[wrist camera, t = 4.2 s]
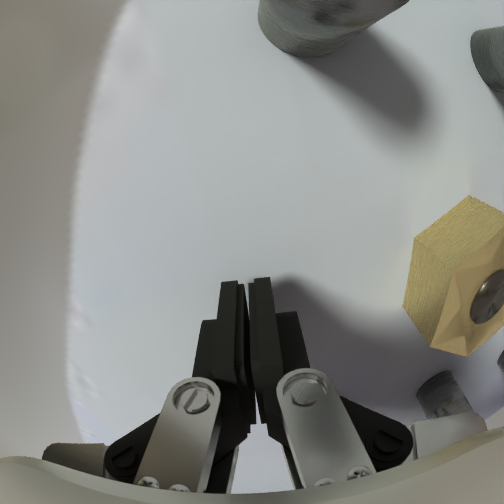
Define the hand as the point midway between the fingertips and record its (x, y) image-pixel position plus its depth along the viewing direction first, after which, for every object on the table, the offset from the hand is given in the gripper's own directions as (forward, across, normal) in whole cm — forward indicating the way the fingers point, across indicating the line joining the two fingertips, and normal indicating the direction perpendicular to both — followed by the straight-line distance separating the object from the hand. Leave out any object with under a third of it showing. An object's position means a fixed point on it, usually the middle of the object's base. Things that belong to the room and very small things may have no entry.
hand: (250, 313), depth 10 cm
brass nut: (+1, -10, 0) cm, 10 cm away
